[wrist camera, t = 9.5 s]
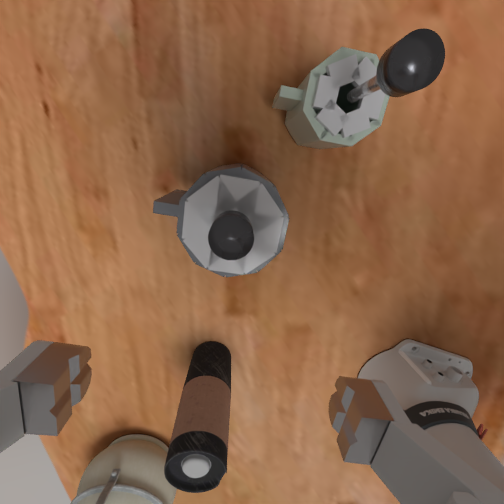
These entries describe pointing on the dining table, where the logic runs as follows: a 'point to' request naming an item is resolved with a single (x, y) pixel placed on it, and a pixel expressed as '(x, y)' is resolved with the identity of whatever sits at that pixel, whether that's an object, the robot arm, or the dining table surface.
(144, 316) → the dining table surface
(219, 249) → the plunger
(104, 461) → the kettle
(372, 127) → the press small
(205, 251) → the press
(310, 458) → the dining table surface
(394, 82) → the plunger small
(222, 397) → the travel mug
